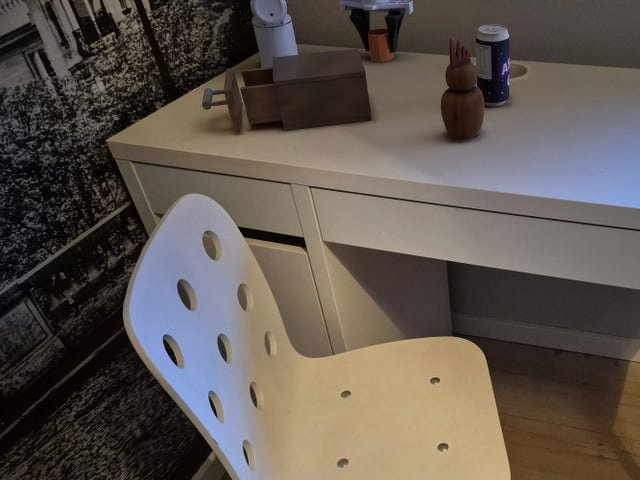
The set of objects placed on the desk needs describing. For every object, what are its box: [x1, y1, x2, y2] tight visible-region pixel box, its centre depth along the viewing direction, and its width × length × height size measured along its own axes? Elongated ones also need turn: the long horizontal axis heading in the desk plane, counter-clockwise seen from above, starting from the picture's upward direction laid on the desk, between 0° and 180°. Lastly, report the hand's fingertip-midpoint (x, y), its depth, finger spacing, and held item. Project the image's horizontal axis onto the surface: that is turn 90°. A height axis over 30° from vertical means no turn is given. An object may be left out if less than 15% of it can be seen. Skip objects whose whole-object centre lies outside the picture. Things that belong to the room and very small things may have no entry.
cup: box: [367, 27, 395, 63], centre depth 134 cm, size 5×5×5 cm
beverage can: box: [475, 23, 511, 107], centre depth 114 cm, size 6×6×12 cm
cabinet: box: [272, 48, 373, 131], centre depth 113 cm, size 15×12×8 cm
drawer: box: [201, 67, 282, 131], centre depth 112 cm, size 18×10×6 cm, turn 104°
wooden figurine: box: [440, 38, 485, 140], centre depth 103 cm, size 7×6×15 cm
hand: (381, 50), depth 135 cm, fingers closed on cup, 5 cm apart
